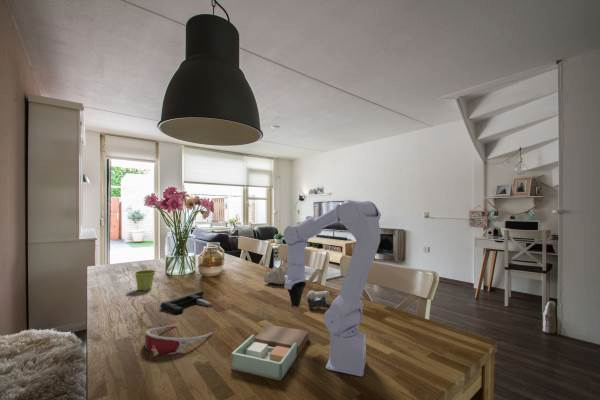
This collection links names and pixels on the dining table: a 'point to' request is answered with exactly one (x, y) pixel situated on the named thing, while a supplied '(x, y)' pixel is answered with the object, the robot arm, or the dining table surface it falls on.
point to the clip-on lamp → (317, 298)
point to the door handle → (184, 302)
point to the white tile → (257, 349)
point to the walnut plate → (282, 337)
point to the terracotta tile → (278, 353)
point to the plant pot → (144, 279)
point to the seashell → (276, 275)
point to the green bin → (262, 361)
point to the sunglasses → (167, 341)
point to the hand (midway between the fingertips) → (295, 305)
